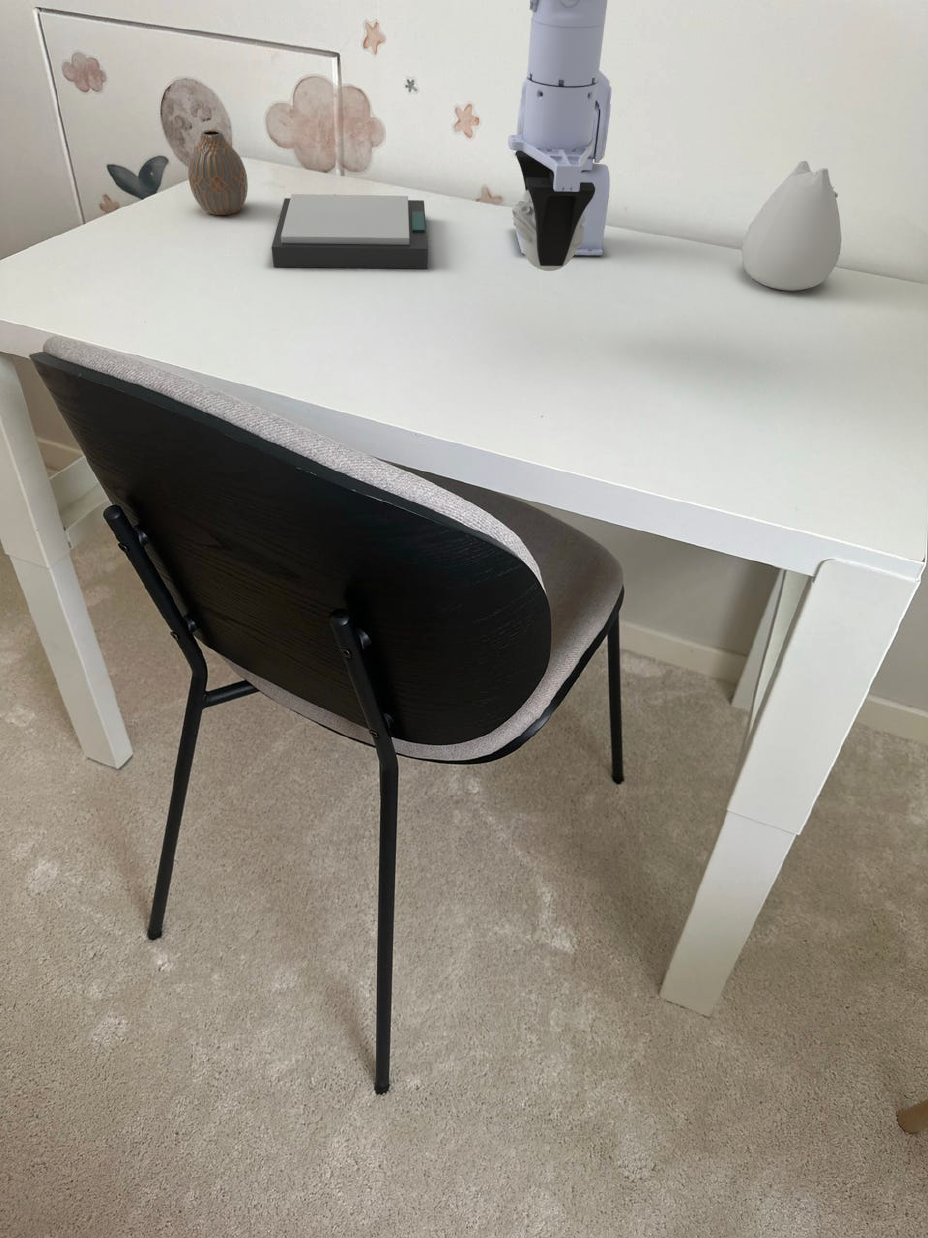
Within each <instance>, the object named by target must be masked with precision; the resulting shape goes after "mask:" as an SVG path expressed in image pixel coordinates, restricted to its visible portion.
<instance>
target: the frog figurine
mask: <svg viewBox="0 0 928 1238" xmlns="http://www.w3.org/2000/svg"><path fill="white" fill-rule="evenodd" d="M522 198H523V200H519V201H518V202H517V203H516V205H515V207H513V208H511V212H512V215H513V217H512V219H513V225H514V226H515V229H516V230H517V232H518V233H519V235H520V236H521V237H522V247H523V251H524V254H523V255H524V257H525V258H526V259H527V261H528V263H530V264H531V265H532V266H533V267H534V268H536V269H538V270H541V271H545V272H547V271H548V272H553V271H557V270H560V269H562V268H563V267H565V266H566V265H568V264H569V263H570V262H571V260H572V259H573V257H574V256H575V255H574V254H575V251H576V249H577V248H579V246H580V245H581V244H582V241H583V236H584V230H585V229H584V227H583V226H582V225H581V224H582V223H583V222H584V221H585V218H584V215H583V214H582V215H581V217H580V219H579V222H578V224H577V226H576V229H575V232H574V235H573V238H572V241H571V244H570V247H569V251H568V254H567V256H566V259H565V262H564V264H563V266H540V263H539V259H538V253H537V237H536V221H535V213H534V208H533V203H532V199H531V196H530V193H529V191H528V190H527V191H525V190H524V193H523V196H522Z"/></svg>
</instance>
